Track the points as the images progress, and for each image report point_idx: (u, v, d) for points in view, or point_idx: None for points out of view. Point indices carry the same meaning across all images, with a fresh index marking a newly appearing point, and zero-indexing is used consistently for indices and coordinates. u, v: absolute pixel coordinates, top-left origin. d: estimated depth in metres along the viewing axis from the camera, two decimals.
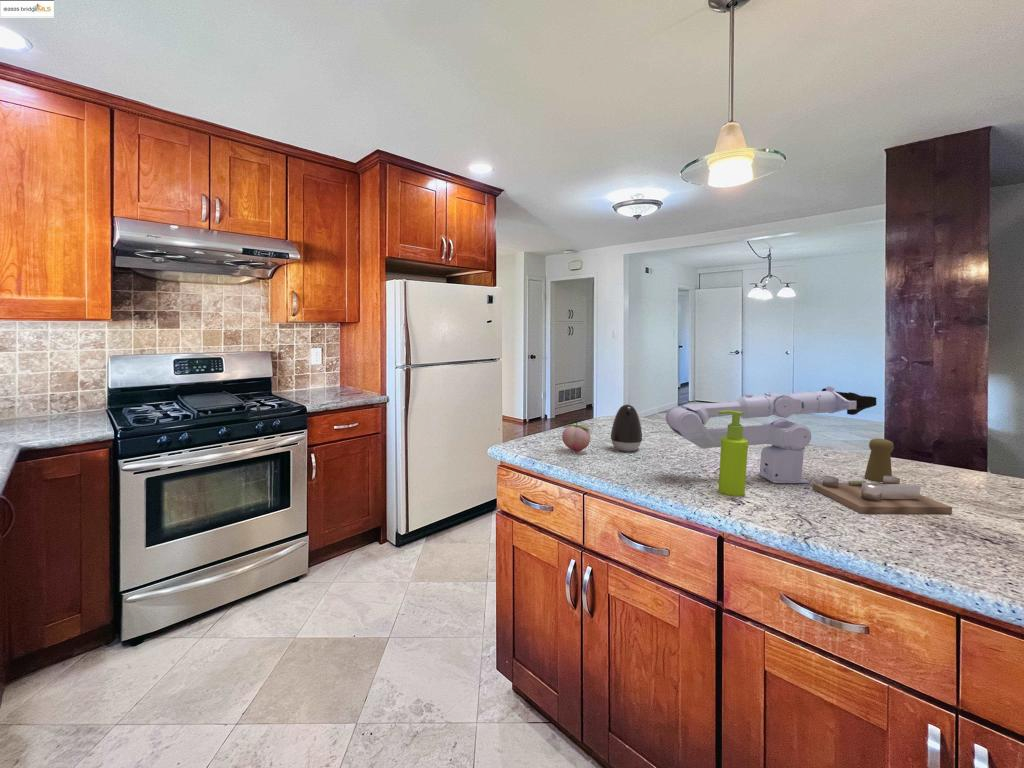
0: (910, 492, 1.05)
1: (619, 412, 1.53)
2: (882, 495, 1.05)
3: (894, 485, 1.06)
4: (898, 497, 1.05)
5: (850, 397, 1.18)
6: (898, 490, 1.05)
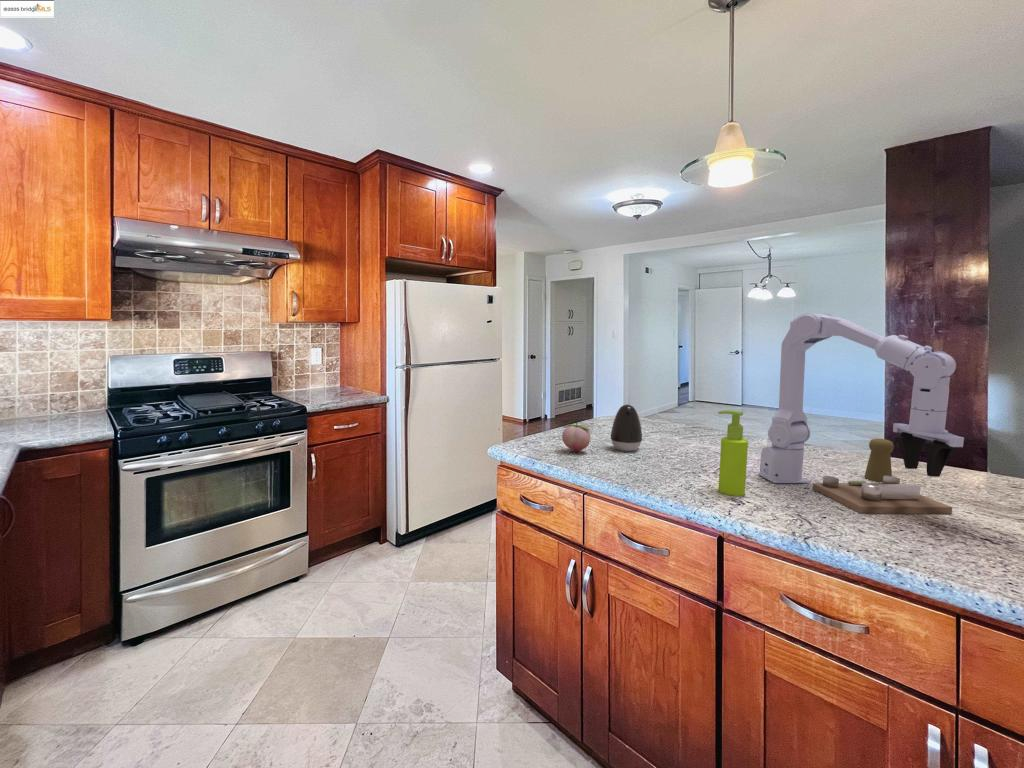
0: (910, 492, 1.05)
1: (619, 412, 1.53)
2: (882, 495, 1.05)
3: (894, 485, 1.06)
4: (898, 497, 1.05)
5: None
6: (898, 490, 1.05)
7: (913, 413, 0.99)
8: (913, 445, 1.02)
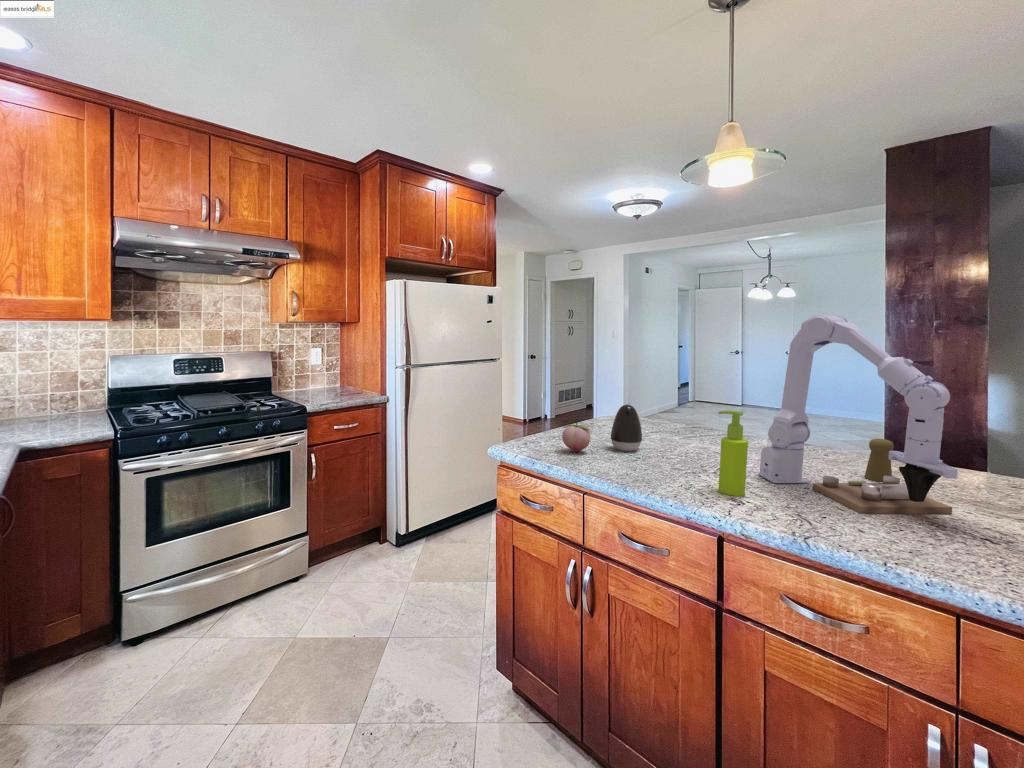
0: None
1: (619, 412, 1.53)
2: (882, 495, 1.05)
3: (894, 485, 1.06)
4: (898, 497, 1.05)
5: None
6: (898, 490, 1.05)
7: (908, 443, 1.00)
8: None
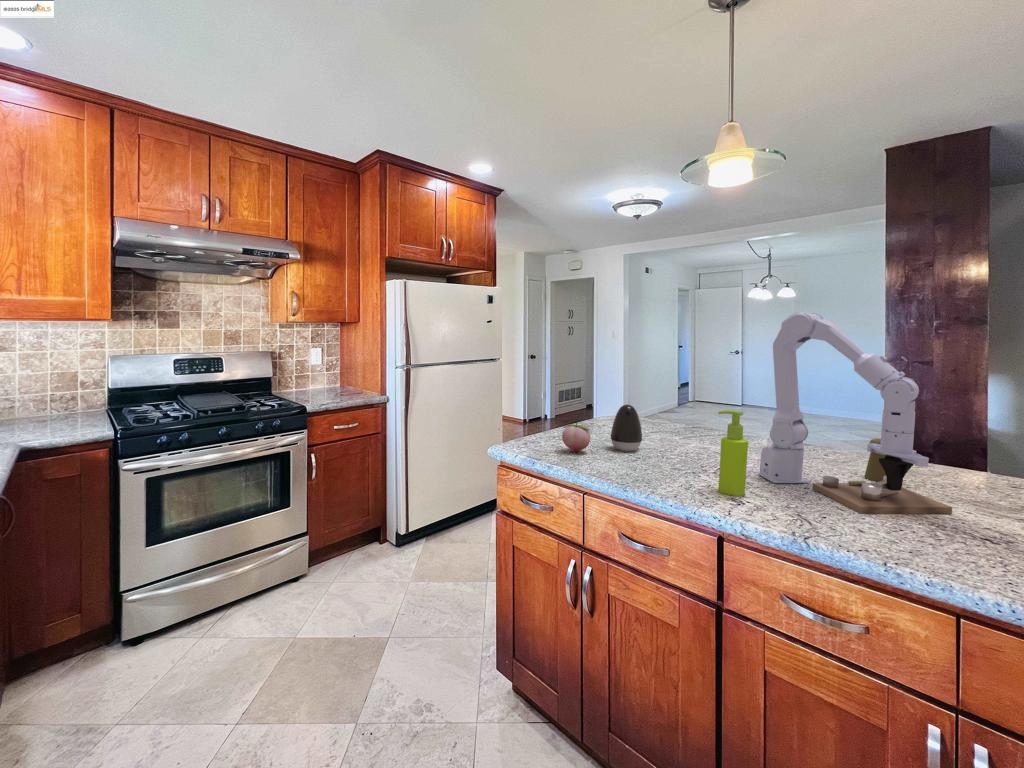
0: None
1: (619, 412, 1.53)
2: None
3: (884, 482, 1.08)
4: (888, 493, 1.08)
5: None
6: None
7: (883, 434, 1.07)
8: (896, 467, 1.06)
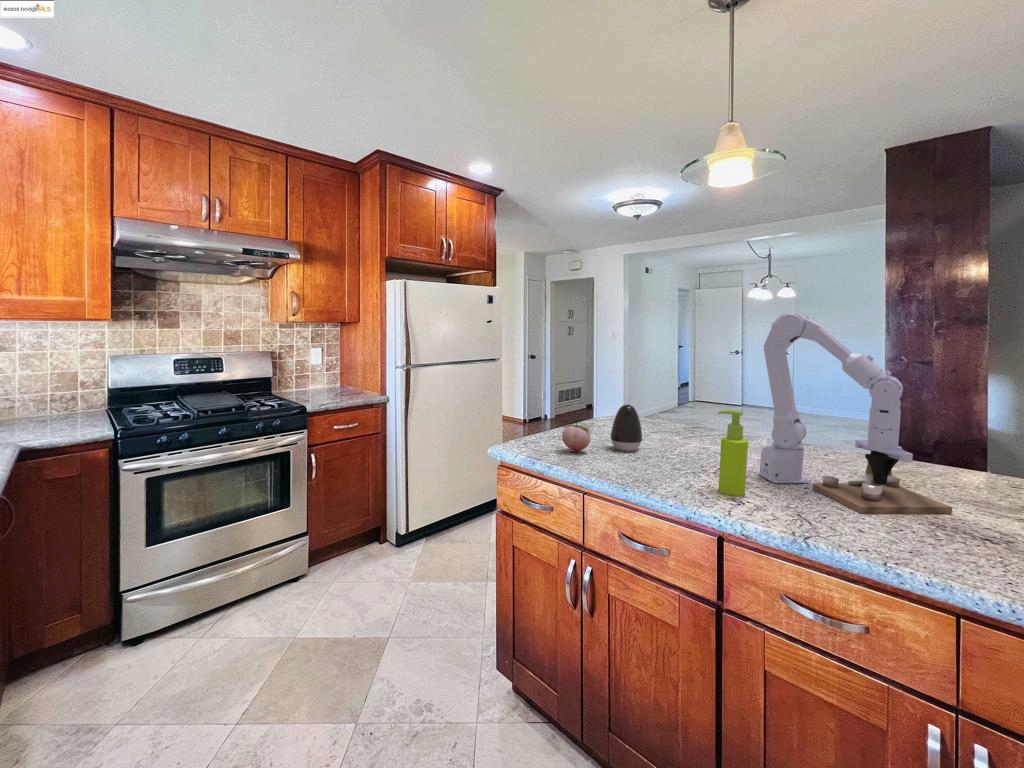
0: None
1: (619, 412, 1.53)
2: None
3: (870, 479, 1.10)
4: None
5: None
6: None
7: (870, 431, 1.11)
8: (882, 463, 1.11)
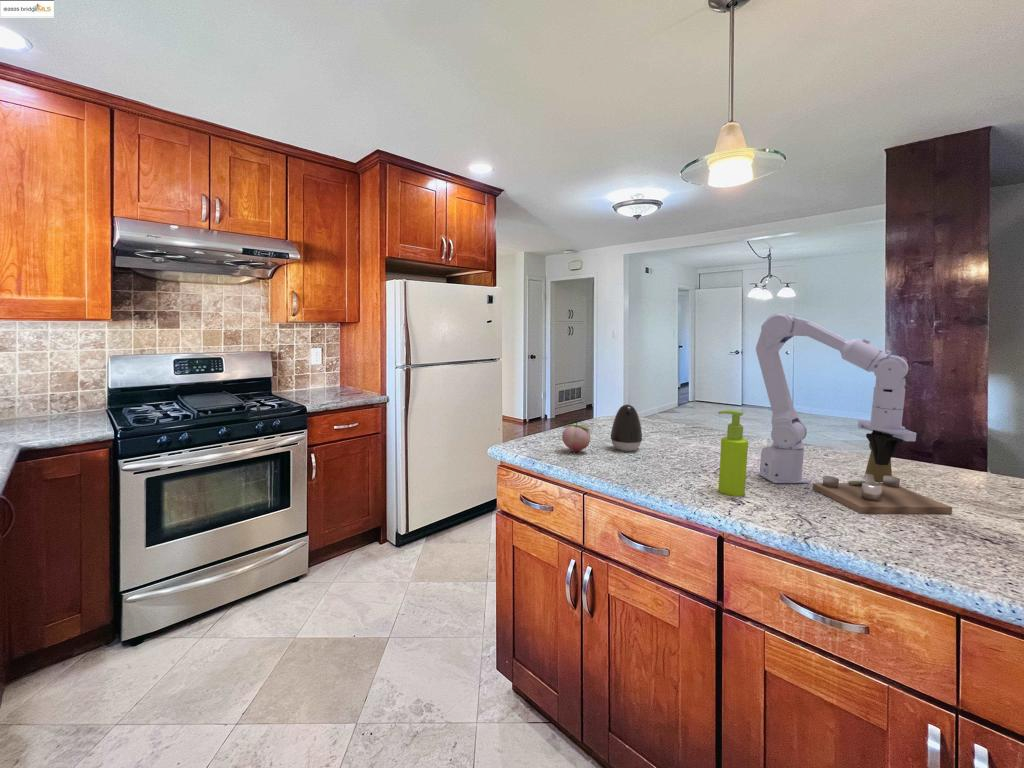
0: None
1: (619, 412, 1.53)
2: None
3: (871, 479, 1.10)
4: None
5: None
6: None
7: (874, 411, 1.09)
8: None
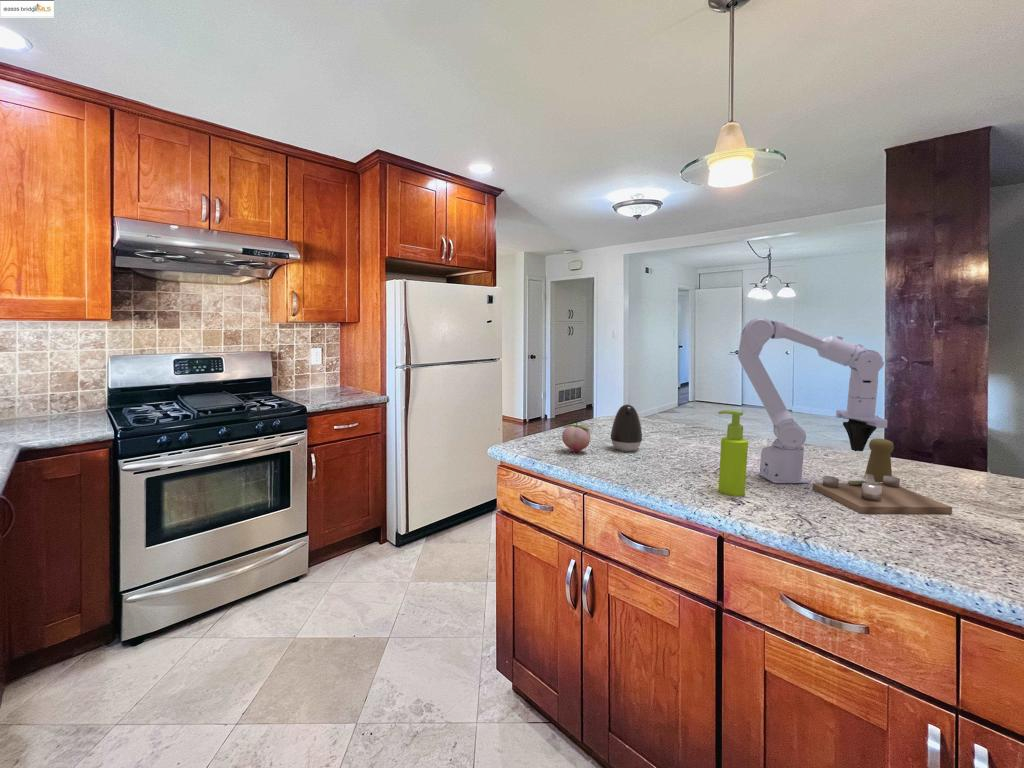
0: None
1: (619, 412, 1.53)
2: None
3: (871, 479, 1.10)
4: None
5: None
6: None
7: (849, 400, 1.17)
8: None
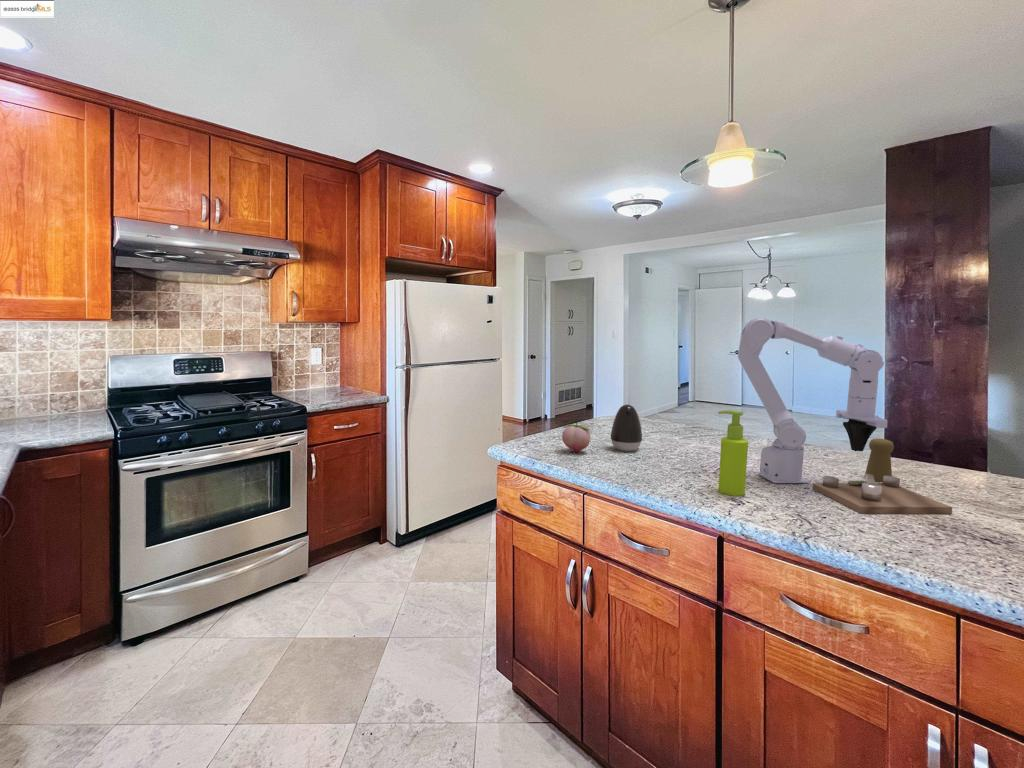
0: None
1: (619, 412, 1.53)
2: None
3: (871, 479, 1.10)
4: None
5: None
6: None
7: (849, 400, 1.17)
8: None
